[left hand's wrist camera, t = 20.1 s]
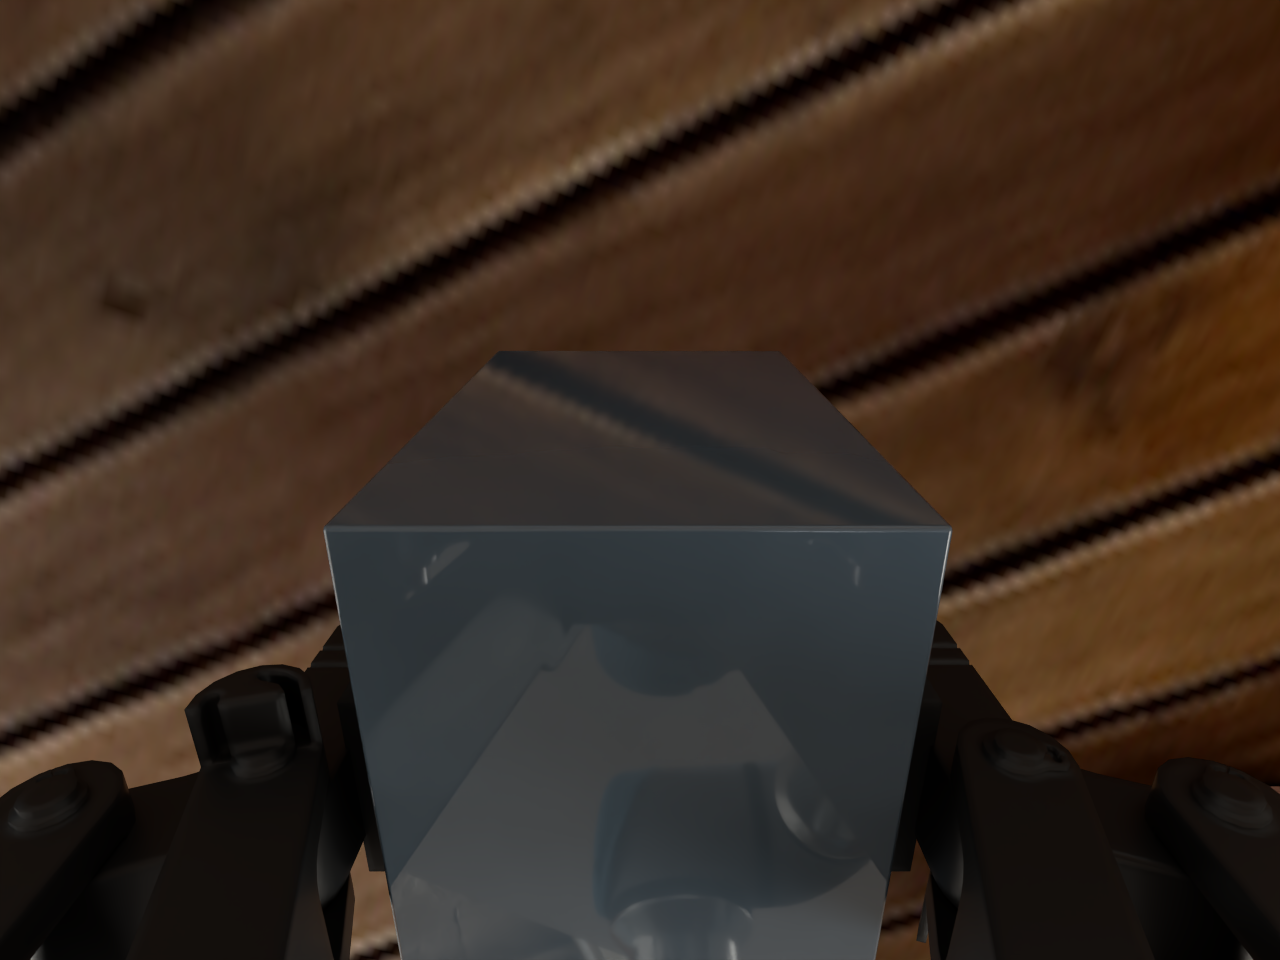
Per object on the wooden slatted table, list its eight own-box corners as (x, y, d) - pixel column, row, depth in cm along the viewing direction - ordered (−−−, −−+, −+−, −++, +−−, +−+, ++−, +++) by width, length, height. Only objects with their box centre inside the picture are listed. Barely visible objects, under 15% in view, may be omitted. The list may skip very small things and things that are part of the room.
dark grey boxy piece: (755, 691, 17) (852, 1095, 9) (522, 692, 17) (424, 1096, 9) (781, 350, 14) (955, 526, 6) (497, 350, 14) (319, 526, 6)
